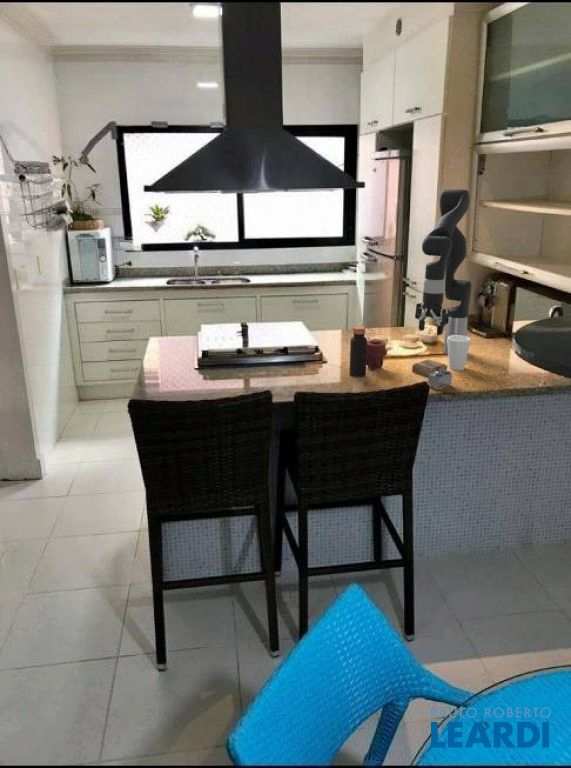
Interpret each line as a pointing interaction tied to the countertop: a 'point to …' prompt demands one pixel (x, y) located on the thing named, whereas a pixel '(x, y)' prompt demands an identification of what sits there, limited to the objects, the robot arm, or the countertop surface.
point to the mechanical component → (375, 354)
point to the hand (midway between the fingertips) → (430, 332)
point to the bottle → (358, 352)
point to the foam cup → (458, 351)
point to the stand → (427, 367)
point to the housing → (440, 378)
